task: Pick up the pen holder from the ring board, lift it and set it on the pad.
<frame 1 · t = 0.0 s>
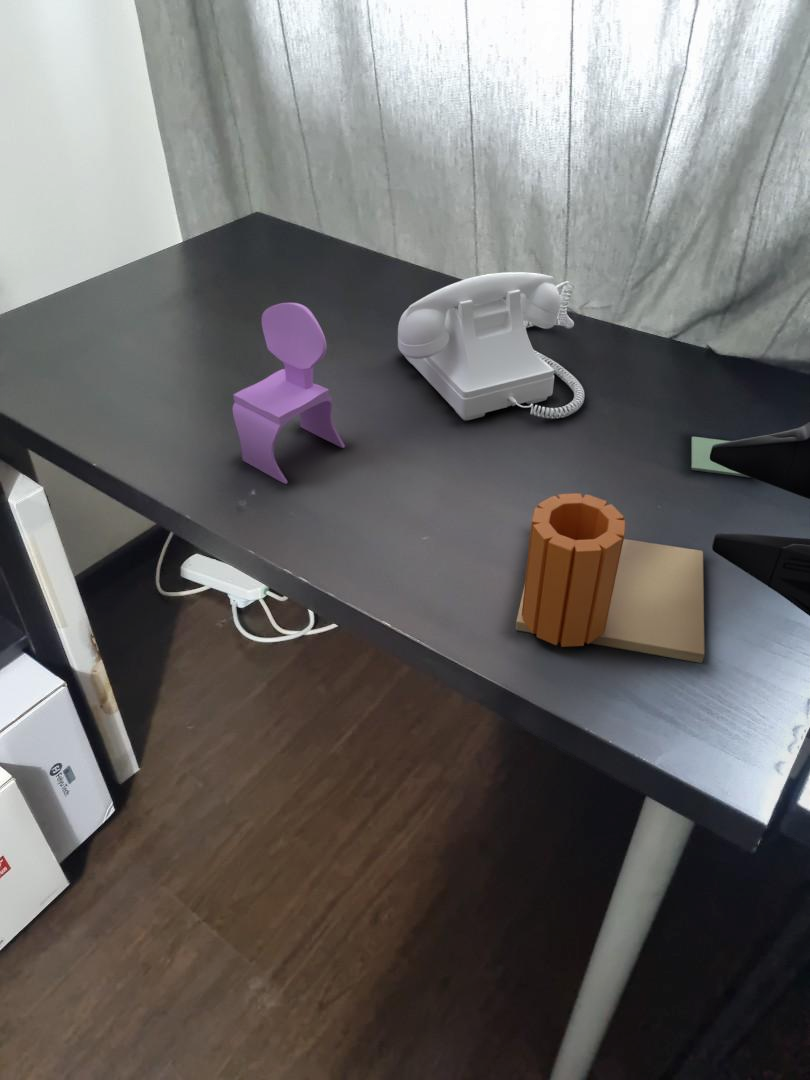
hand: (712, 494, 50), 16 cm above the table, tool horizontal, fingers open, 9 cm apart
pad: (720, 457, 82), on the table
pen holder: (564, 615, 64), point 1 cm above the table, touching ring board
toy chair: (292, 456, 83), on the table
telephone: (503, 379, 94), on the table
ring board: (612, 593, 67), on the table
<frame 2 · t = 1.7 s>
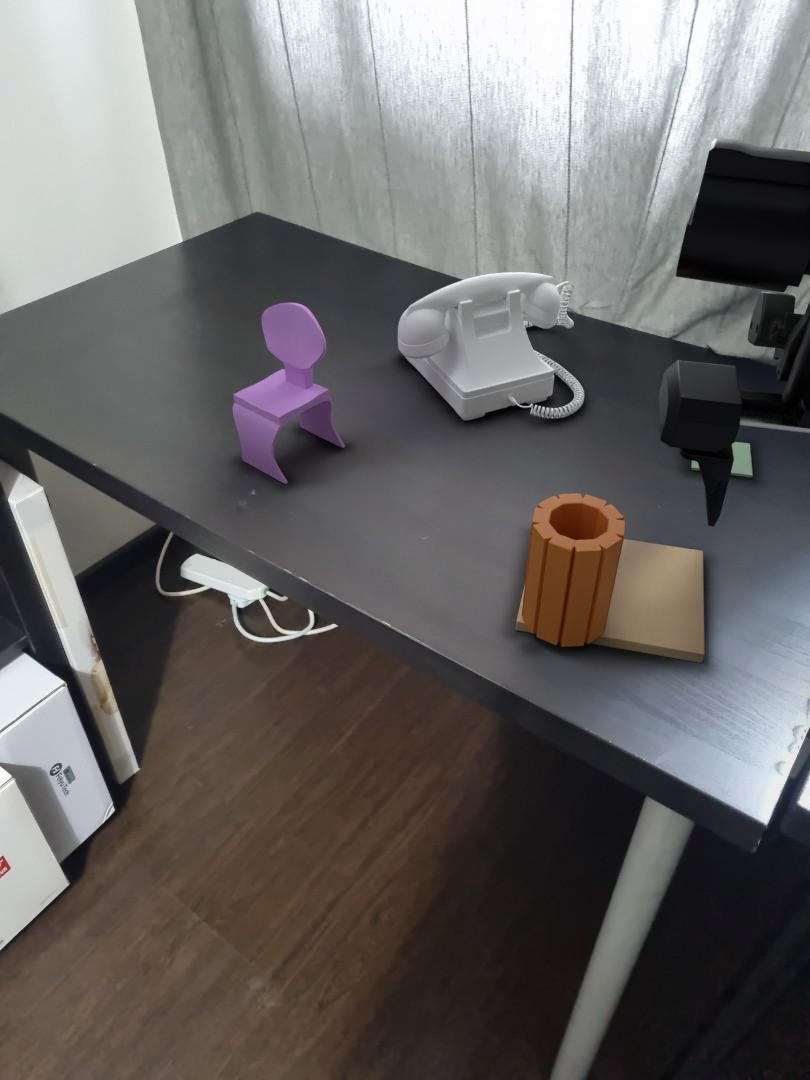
hand: (784, 532, 53), 13 cm above the table, tool pointing down, fingers open, 9 cm apart
nothing on the table moved.
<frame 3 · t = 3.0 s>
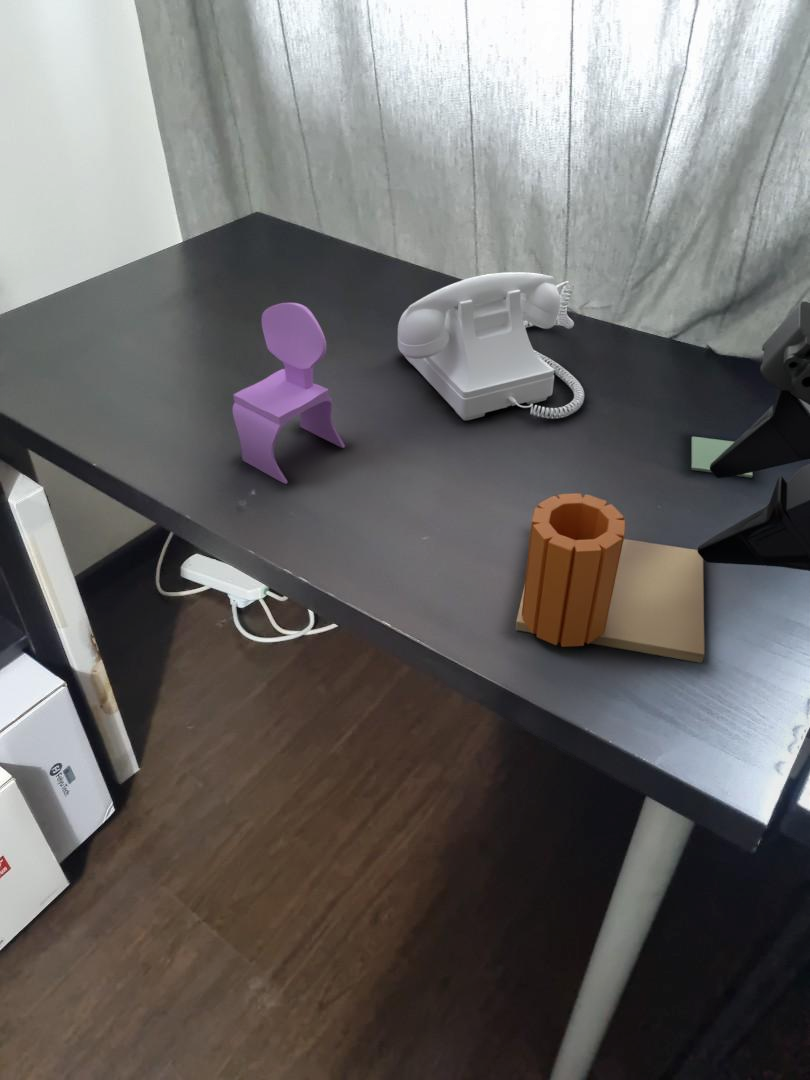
hand: (707, 511, 54), 13 cm above the table, tool tilted 45°, fingers open, 9 cm apart
nothing on the table moved.
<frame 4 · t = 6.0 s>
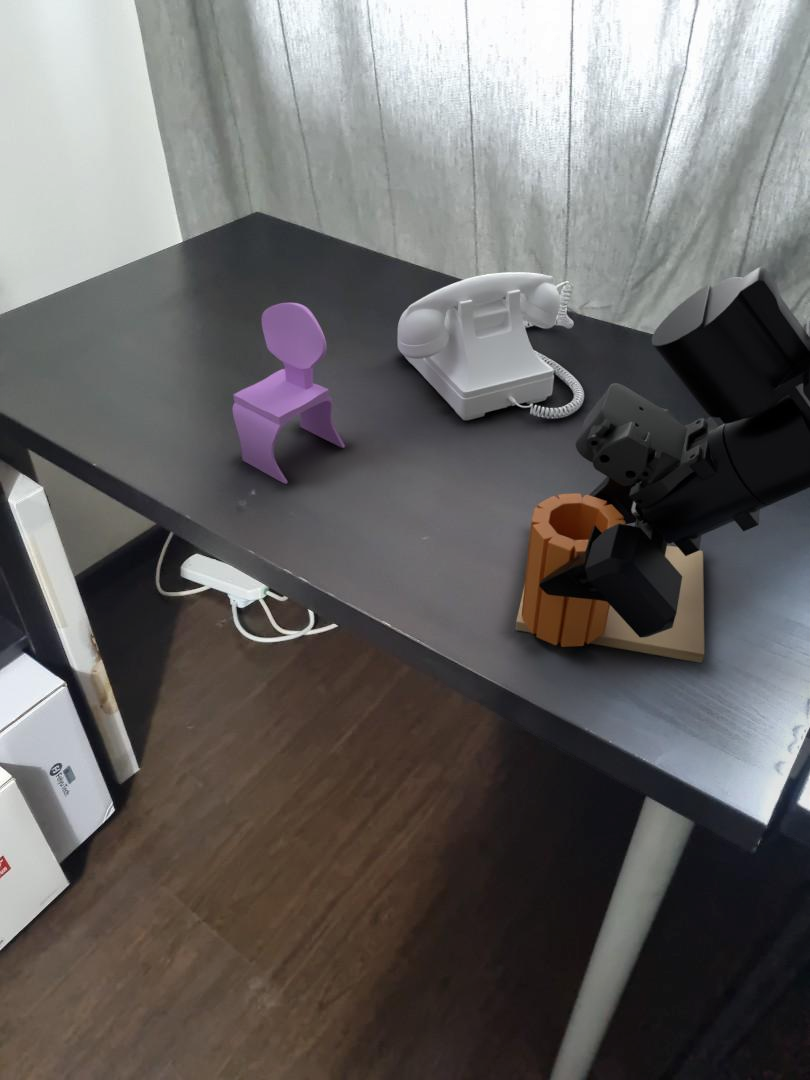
hand: (553, 557, 61), 7 cm above the table, tool tilted 45°, fingers closed on pen holder, 6 cm apart
pen holder: (563, 615, 64), point 1 cm above the table, touching gripper, ring board
everything else where it was.
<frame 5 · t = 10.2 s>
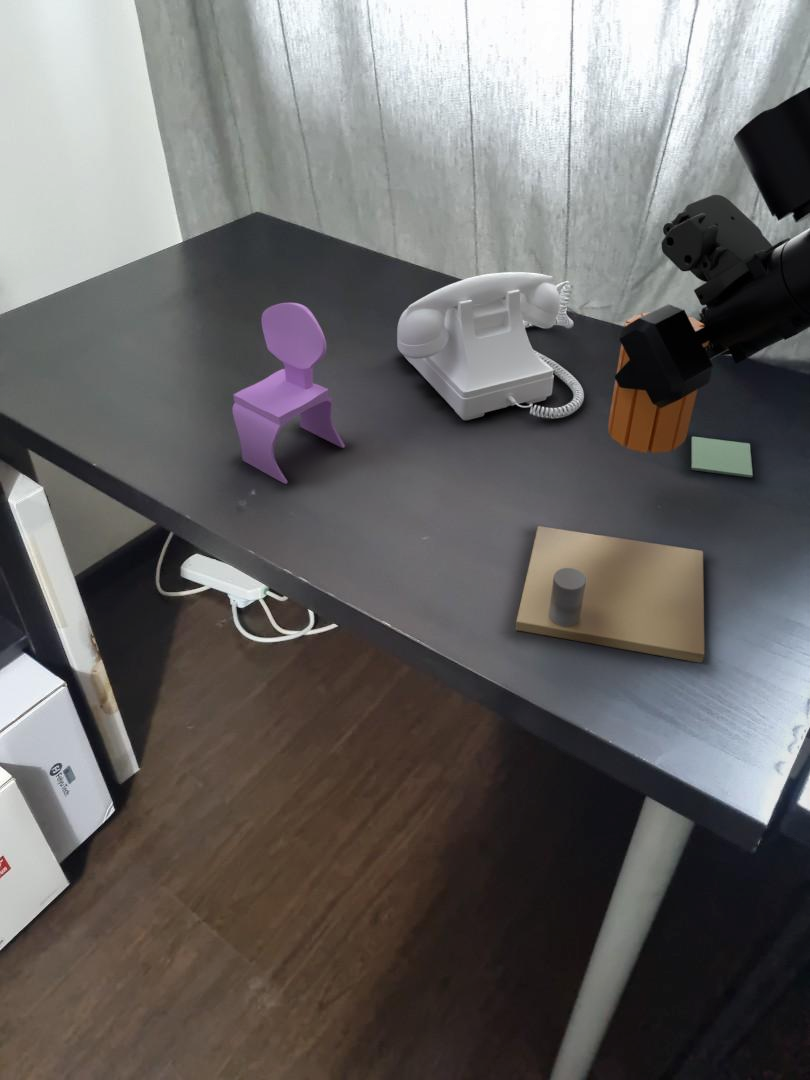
hand: (644, 367, 68), 14 cm above the table, tool tilted 45°, fingers closed on pen holder, 6 cm apart
pen holder: (646, 431, 71), point 8 cm above the table, touching gripper
everything else where it was.
when the fingers open (6 cm above the table, at t = 14.5 s): pen holder stays where it is, resting on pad.
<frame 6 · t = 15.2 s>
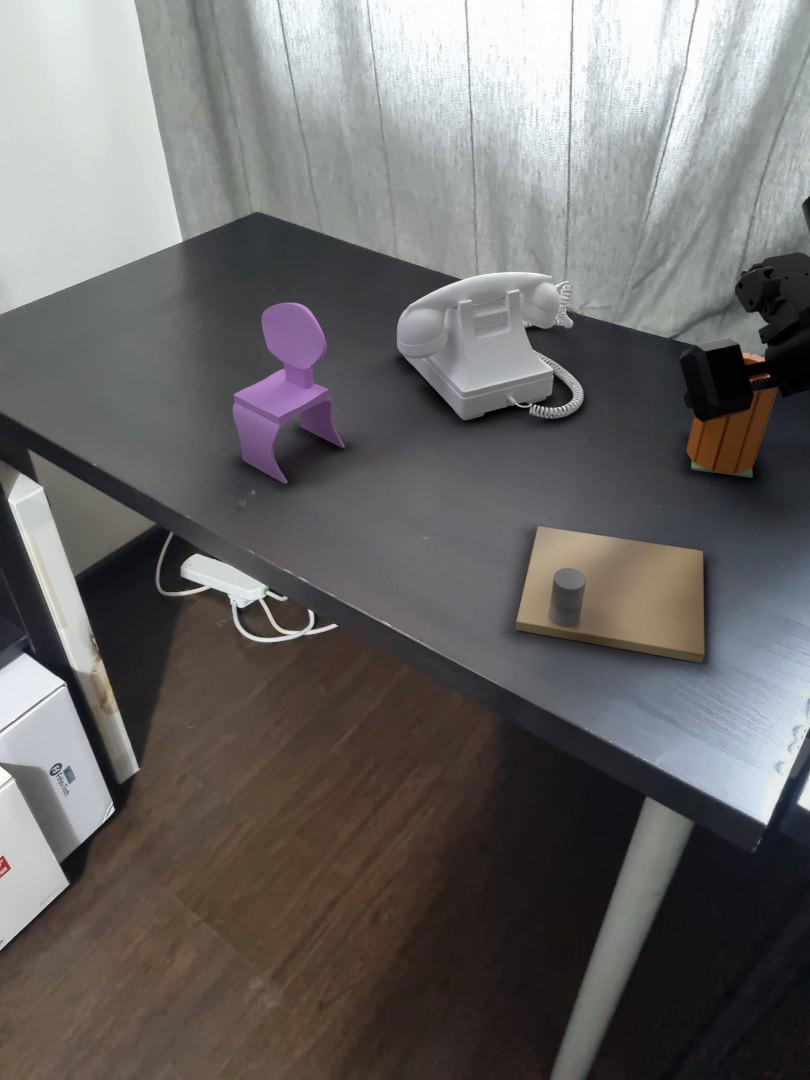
hand: (727, 392, 78), 7 cm above the table, tool tilted 45°, fingers open, 9 cm apart
pen holder: (720, 454, 81), resting on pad
everything else where it was.
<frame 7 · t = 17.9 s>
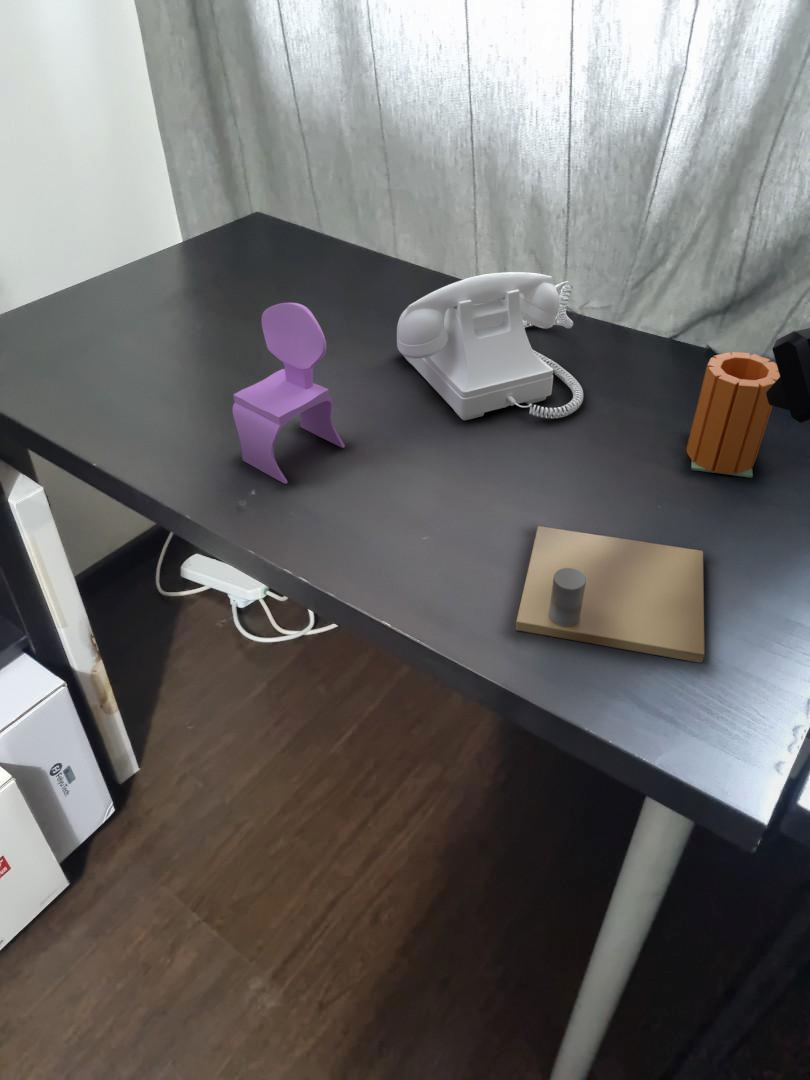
nothing on the table moved.
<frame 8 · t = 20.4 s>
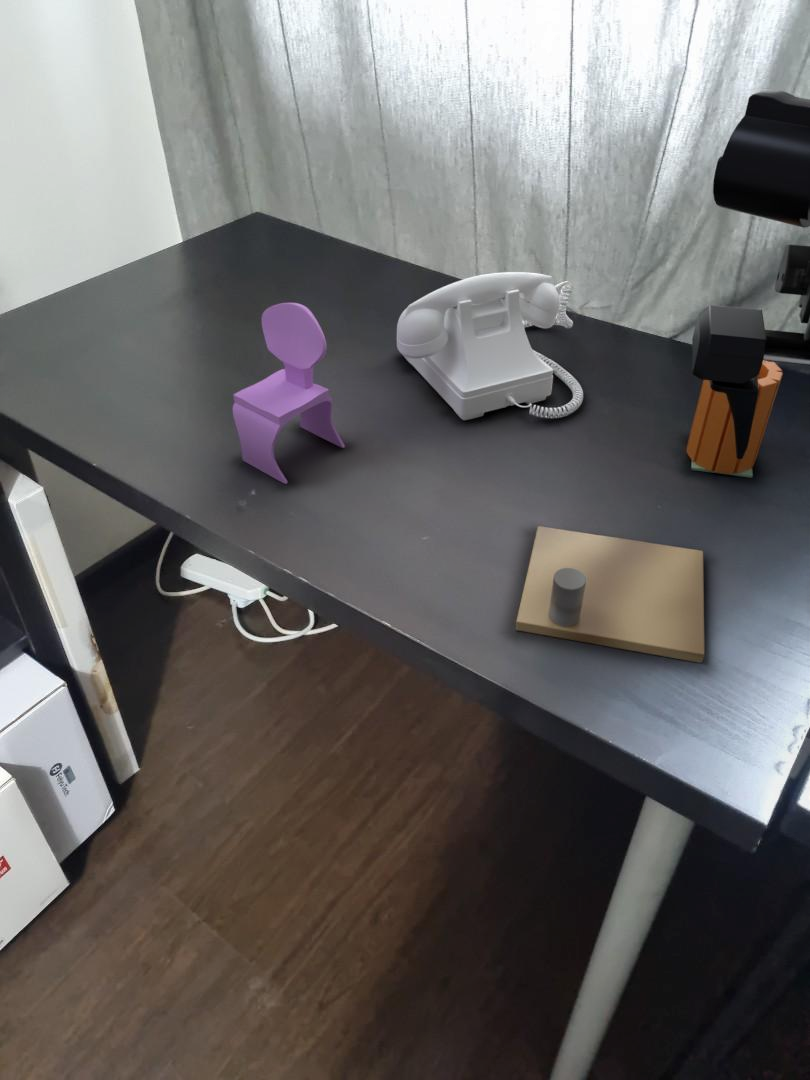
hand: (807, 464, 58), 13 cm above the table, tool pointing down, fingers open, 9 cm apart
nothing on the table moved.
at the end: pen holder 0.1 cm off-centre on the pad, point 0.3 cm above the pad's base; pen holder tilted 0°; pen holder touching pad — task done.
